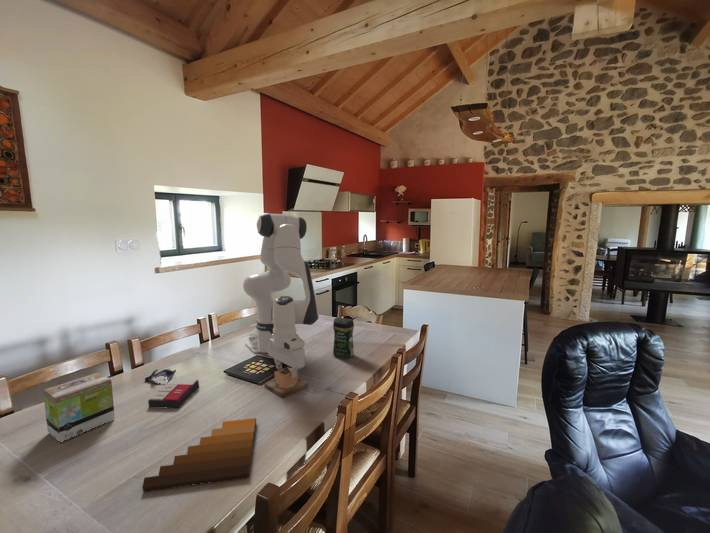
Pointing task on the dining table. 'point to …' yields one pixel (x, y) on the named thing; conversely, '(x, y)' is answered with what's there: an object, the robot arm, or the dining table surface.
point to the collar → (285, 378)
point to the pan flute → (210, 458)
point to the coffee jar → (343, 338)
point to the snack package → (165, 373)
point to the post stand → (287, 390)
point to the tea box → (78, 405)
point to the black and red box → (174, 393)
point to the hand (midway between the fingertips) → (286, 372)
